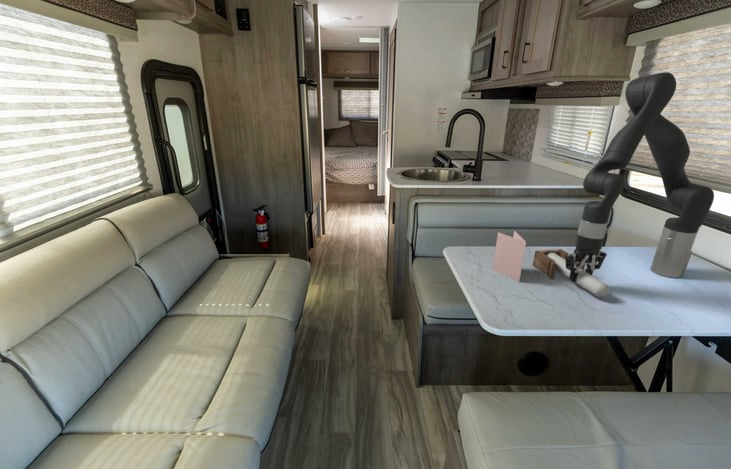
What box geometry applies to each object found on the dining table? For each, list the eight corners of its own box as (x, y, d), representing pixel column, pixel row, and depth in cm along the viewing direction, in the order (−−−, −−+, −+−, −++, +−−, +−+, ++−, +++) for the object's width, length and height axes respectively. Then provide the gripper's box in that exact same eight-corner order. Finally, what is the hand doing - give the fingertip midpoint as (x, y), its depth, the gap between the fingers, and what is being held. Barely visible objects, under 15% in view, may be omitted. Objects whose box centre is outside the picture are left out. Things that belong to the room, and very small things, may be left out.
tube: (615, 286, 111) (559, 254, 134) (603, 283, 110) (548, 251, 133) (607, 301, 113) (553, 266, 136) (594, 298, 111) (542, 263, 134)
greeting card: (521, 282, 124) (529, 242, 119) (500, 281, 125) (506, 241, 119) (510, 267, 135) (516, 230, 130) (490, 267, 135) (496, 230, 130)
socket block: (560, 263, 139) (563, 248, 137) (583, 277, 128) (586, 262, 126) (530, 265, 137) (532, 251, 135) (550, 280, 126) (553, 264, 124)
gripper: (601, 228, 120) (589, 274, 126) (563, 231, 118) (553, 277, 124) (619, 236, 113) (606, 284, 119) (579, 239, 111) (568, 287, 117)
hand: (579, 280), depth 121 cm, fingers closed on tube, 4 cm apart
